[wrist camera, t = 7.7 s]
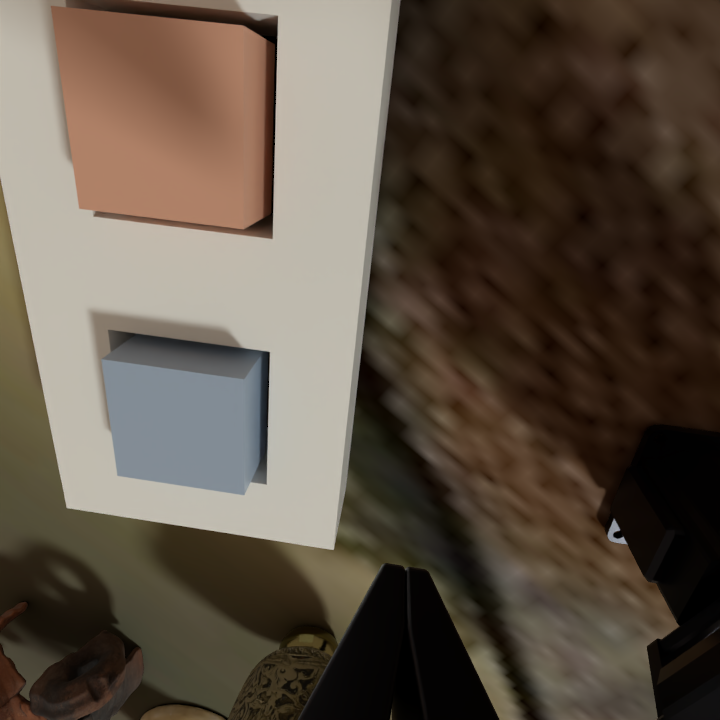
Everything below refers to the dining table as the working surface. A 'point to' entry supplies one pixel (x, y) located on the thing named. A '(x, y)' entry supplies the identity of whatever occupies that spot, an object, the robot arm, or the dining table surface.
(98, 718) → the pottery mug
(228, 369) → the blue key
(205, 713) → the hand bell
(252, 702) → the cup
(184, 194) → the terracotta key
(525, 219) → the dining table surface
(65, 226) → the key panel
